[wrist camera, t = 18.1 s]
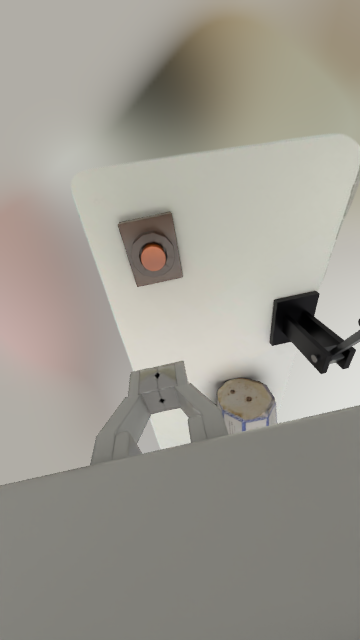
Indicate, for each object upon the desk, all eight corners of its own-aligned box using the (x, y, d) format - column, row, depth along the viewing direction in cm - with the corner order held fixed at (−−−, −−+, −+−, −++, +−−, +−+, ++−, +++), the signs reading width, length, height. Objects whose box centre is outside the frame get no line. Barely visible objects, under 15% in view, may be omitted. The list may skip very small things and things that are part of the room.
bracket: (274, 299, 43) (319, 341, 31) (315, 290, 43) (376, 329, 31) (269, 342, 49) (306, 389, 38) (305, 334, 49) (352, 379, 38)
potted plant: (216, 431, 41) (231, 518, 51) (300, 409, 42) (298, 499, 52) (198, 379, 57) (212, 453, 68) (258, 364, 58) (263, 439, 69)
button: (138, 246, 30) (137, 249, 28) (162, 241, 30) (162, 244, 28) (144, 269, 32) (144, 273, 30) (167, 264, 32) (168, 268, 30)
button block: (119, 222, 31) (115, 226, 28) (170, 211, 31) (173, 214, 28) (138, 282, 37) (136, 291, 33) (181, 272, 37) (184, 281, 33)
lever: (361, 312, 25) (374, 329, 24) (408, 301, 25) (424, 318, 24) (306, 355, 38) (313, 367, 37) (338, 348, 38) (345, 360, 37)
